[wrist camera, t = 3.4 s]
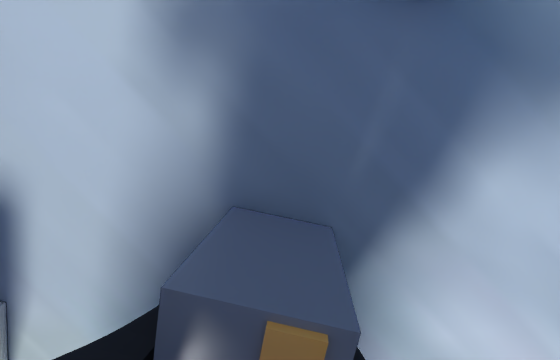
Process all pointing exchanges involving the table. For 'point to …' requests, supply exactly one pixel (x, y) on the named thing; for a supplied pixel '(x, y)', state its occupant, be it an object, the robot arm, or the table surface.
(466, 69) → the table surface
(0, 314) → the rail
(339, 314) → the block
